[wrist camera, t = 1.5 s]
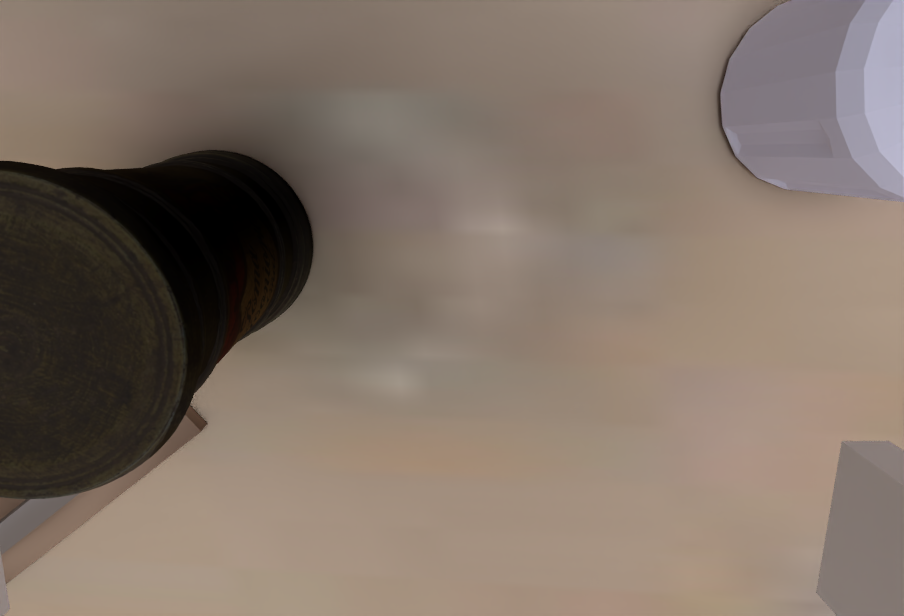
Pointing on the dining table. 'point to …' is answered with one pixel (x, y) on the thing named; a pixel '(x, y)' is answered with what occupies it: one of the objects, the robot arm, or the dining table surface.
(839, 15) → the soap bottle
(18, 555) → the track plinth
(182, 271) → the container
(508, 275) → the dining table surface
